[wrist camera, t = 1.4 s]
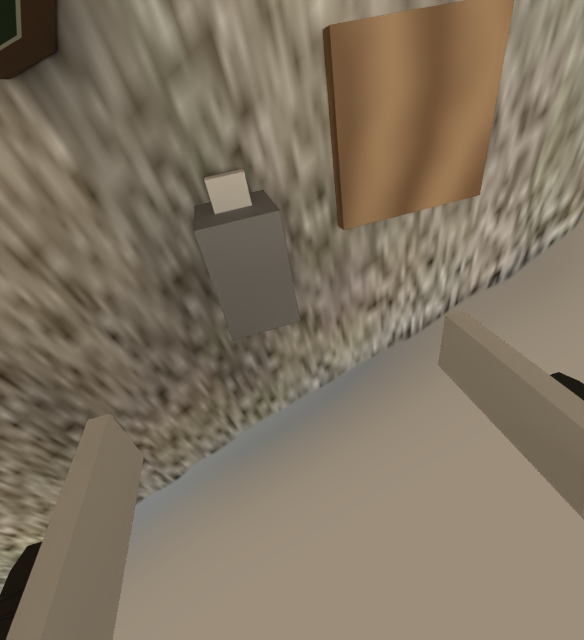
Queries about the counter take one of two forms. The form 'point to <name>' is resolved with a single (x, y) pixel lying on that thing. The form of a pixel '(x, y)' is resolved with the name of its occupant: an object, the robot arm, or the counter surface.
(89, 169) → the counter surface
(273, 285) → the plug
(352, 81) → the walnut board
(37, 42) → the beer bottle
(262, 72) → the counter surface
